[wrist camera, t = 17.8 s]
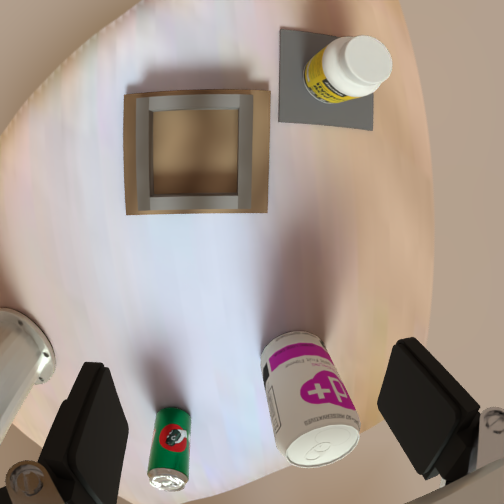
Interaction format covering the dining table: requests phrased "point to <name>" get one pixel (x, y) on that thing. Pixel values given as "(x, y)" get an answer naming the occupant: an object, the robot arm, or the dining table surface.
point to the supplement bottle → (347, 69)
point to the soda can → (170, 450)
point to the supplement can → (307, 401)
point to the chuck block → (196, 151)
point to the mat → (297, 96)
